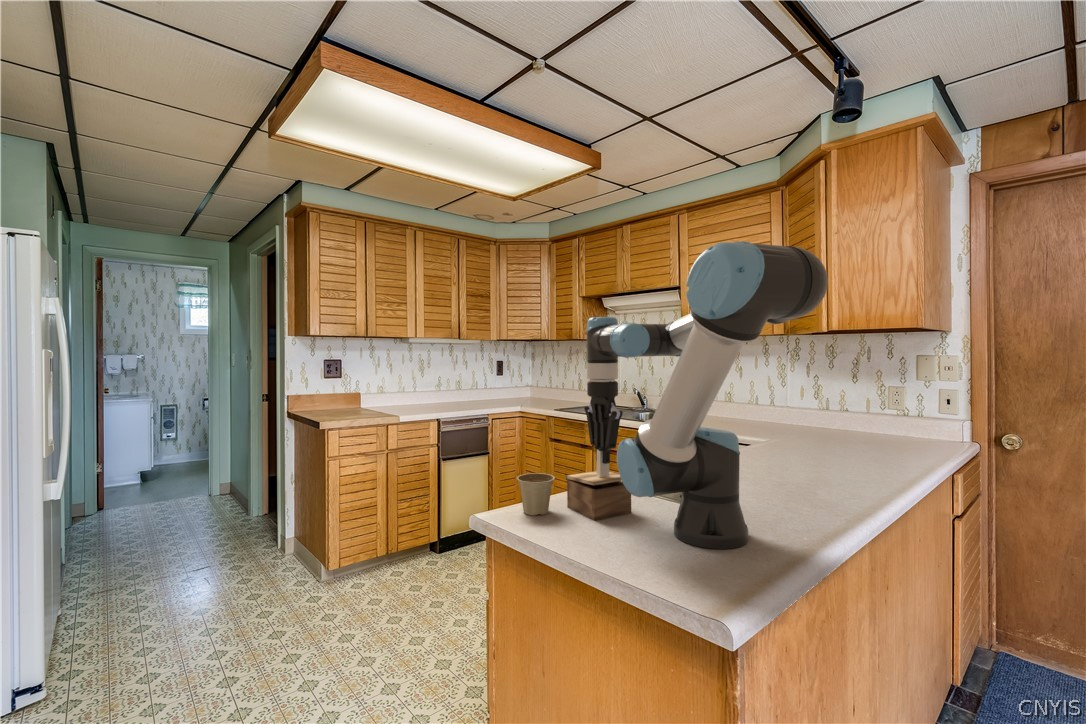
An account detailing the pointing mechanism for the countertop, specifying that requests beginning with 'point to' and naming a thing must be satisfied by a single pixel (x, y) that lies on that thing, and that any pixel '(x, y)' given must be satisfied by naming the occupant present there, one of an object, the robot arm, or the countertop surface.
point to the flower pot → (535, 492)
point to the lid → (594, 478)
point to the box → (598, 499)
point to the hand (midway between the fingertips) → (603, 475)
